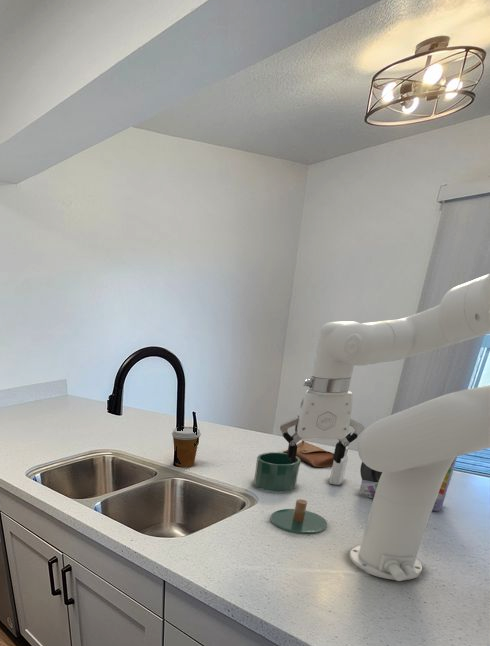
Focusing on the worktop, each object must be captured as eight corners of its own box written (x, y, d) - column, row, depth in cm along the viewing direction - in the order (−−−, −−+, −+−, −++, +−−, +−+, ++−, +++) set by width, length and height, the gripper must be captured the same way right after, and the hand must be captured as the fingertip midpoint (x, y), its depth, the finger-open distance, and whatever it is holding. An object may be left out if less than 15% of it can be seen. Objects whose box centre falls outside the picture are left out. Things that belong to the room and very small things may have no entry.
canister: (299, 493, 123) (304, 465, 120) (257, 492, 126) (260, 464, 122) (290, 479, 133) (295, 452, 129) (251, 478, 136) (254, 452, 132)
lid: (332, 537, 101) (338, 513, 98) (275, 535, 103) (279, 511, 101) (317, 513, 112) (322, 491, 109) (266, 512, 114) (269, 490, 111)
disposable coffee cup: (165, 462, 153) (166, 428, 147) (188, 458, 156) (190, 424, 150) (180, 470, 145) (181, 435, 139) (204, 465, 148) (207, 431, 142)
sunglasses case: (281, 451, 155) (292, 434, 153) (294, 458, 158) (305, 442, 156) (315, 467, 139) (328, 448, 137) (329, 475, 142) (342, 457, 140)
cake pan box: (353, 495, 121) (368, 432, 113) (358, 489, 124) (374, 428, 116) (438, 513, 108) (462, 445, 100) (442, 507, 111) (465, 440, 103)
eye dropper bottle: (349, 482, 129) (358, 443, 123) (335, 486, 127) (344, 446, 121) (336, 477, 132) (344, 439, 127) (322, 481, 130) (330, 442, 125)
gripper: (289, 389, 91) (277, 465, 99) (381, 387, 88) (360, 467, 96) (282, 382, 98) (271, 455, 106) (367, 381, 94) (349, 456, 102)
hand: (313, 460), depth 101 cm, fingers open, 9 cm apart
